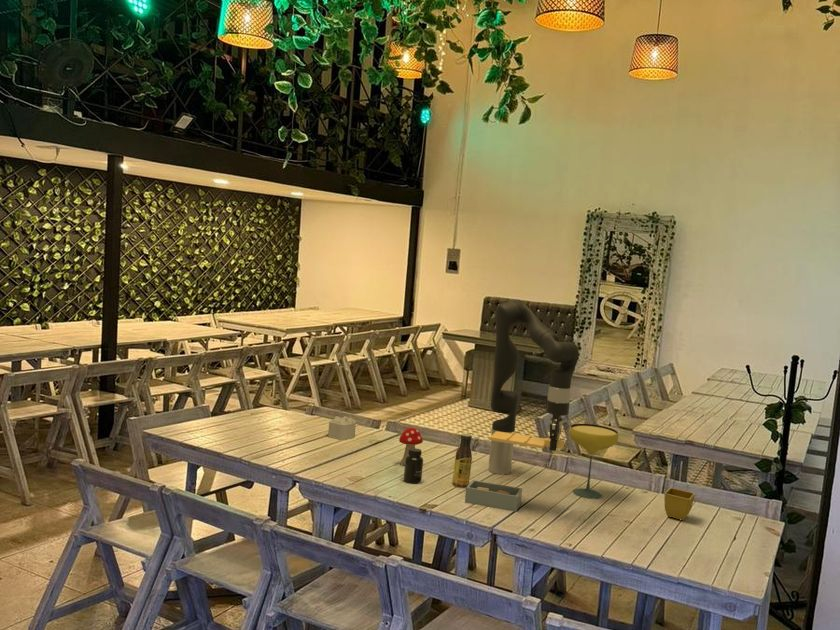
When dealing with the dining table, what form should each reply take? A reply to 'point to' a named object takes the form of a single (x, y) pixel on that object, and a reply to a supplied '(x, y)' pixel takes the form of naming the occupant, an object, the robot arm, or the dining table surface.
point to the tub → (493, 495)
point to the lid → (524, 440)
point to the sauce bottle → (463, 462)
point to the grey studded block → (342, 428)
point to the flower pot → (678, 503)
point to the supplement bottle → (413, 466)
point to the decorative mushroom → (410, 440)
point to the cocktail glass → (592, 447)
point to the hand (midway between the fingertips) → (553, 448)
